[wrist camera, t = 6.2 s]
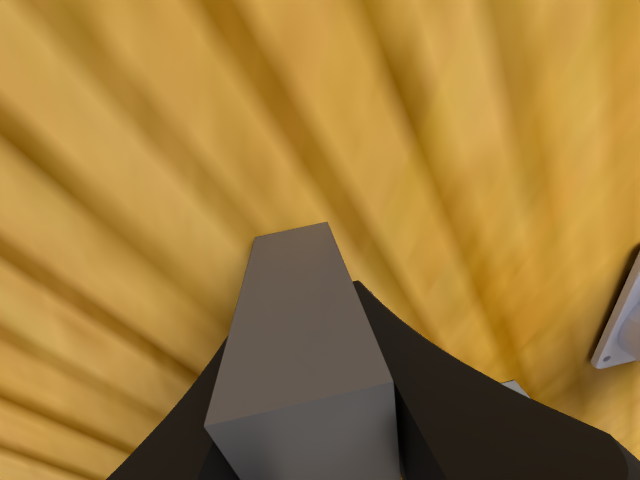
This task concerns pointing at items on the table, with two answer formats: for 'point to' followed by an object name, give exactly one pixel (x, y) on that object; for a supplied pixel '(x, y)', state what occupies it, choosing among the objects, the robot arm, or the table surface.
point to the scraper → (303, 370)
